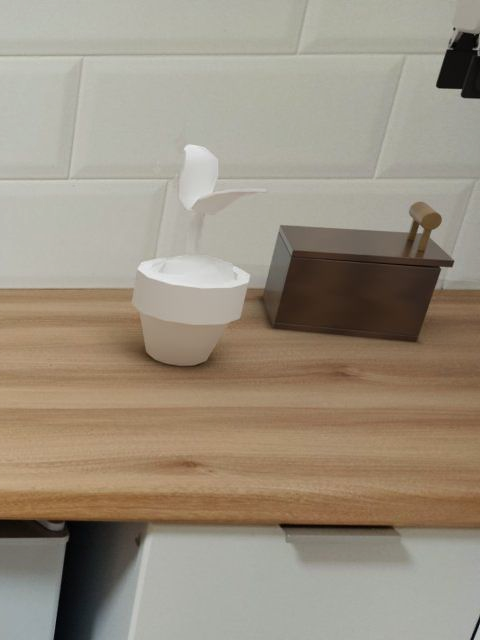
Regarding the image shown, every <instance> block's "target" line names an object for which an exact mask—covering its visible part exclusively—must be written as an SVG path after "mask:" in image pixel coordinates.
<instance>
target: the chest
mask: <svg viewBox="0 0 480 640" xmlns="http://www.w3.org/2000/svg"><path fill="white" fill-rule="evenodd" d="M441 271H442V267H437V266H422V265H407V264H393V263H378V262H363V261H348V260H333V259H318V258H304V257H292V256H291V254H290V252H289V250H288V248H287V246H286V244H285V242H284V240H283V238H282V236H281V234H280V232H279V231H278V233H277V236H276V241H275V245H274V249H273V253H272V257H271V261H270V265H269V269H268V273H267V277H266V281H265V285H264V289H263V294H262V301H263V304H264V307H265V310H266V312H267V315H268V318H269V321H270V324H271V327H272V329H273V330H283V331H294V332H306V333H315V334H326V335H335V336H344V337H345V336H346V337H356V338H365V339H366V338H367V339H376V340H386V341H387V340H388V341H396V342H397V341H399V342H407V343H417V341H418V339H419V336H420V333H421V331H422V327H423V324H424V321H425V319H426V315H427V312H428V310H429V307H430V304H431V301H432V299H433V295H434V292H435V289H436V286H437V283H438V280H439V278H440V276H441V275H440V274H441Z"/></svg>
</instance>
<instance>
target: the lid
mask: <svg viewBox="0 0 480 640" xmlns="http://www.w3.org/2000/svg"><path fill="white" fill-rule="evenodd" d="M408 214H409V216H410V217H411V219H412V220H411V223H410V227H409V231H408V232H407V231H406V232H405V231H388V230H387V231H386V230H373V229H372V230H371V229H355V228H354V229H353V228H340V227H339V228H338V227H323V226H322V227H321V226H307V225H306V226H304V225H288V224H280V225H279V227H278V232H280V234H281V236H282V238H283V240H284V242H285V244H286V246H287V248H288V250H289V252H290V254H291V256H292V257H304V258H318V259H333V260H348V261H363V262H378V263H393V264H407V265H422V266H437V267H440V268H453V267H454V264H455V260H454V258H453V257H451V256H450V255H449V254H448V253H447V252H446V251H445V250H444V249H443V248H442V247H441V246H440V245H438V244H437V242H436V241H434V239H432V238H431V234H432V231H433V230H436V229H437V228H439V227H440V226H441V224H442V221H443V218H442V217H443V216H442V215H441V214H440V213H439V212H437V211H436V210H435V209H434V208H433V207H431V206H430V205H429V204H428V203H427V202H425V201H416V202H414V203H413V204H411V206H410V207H409V209H408ZM419 227H421V228H423V230H422V233H421V232H418V230H419Z"/></svg>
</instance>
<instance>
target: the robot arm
mask: <svg viewBox="0 0 480 640" xmlns="http://www.w3.org/2000/svg"><path fill="white" fill-rule="evenodd" d="M452 25H453V28H452V31H453V32H452V35H451V36H450V38H449V40H448V44H447V48H446V51H445V53H444V55H443V56H444V57H443V60H442V63H441V65H440V70H439V73H438V76H437V79H436V82H435V87H436V88H437V89H441V90H442V89H443V90H461V92H460V97H461V98H462V99H472V100H480V0H458V1H457V4H456V8H455V12H454V16H453V20H452Z"/></svg>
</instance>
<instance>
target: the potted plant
mask: <svg viewBox="0 0 480 640" xmlns="http://www.w3.org/2000/svg"><path fill="white" fill-rule="evenodd" d="M170 143H172V144H174V145H175V147H176V151H177V163H179V161H180V159H181V155H182V153H184V154H183V163H182V168H181V171H180V173H179V176H178V172H176V174H175V176H173V178H172V179H169V181H170V182H171V183H172V184H173V191H175V190H176V189H177V190H176V191H177V192H176V193H177V195H176V196H177V199H178V201H179V202H180V204H181V206H182V207H183V209H184V210H187V211H191V212H192V213H191V215H190V217H189V220H188V221H187V228H186V238H185V254H182V255H176V256H175V255H174V256H172V257H157V258H153V259H149V260H144V261H141V262H140V264H139V265H138V267H137V268H136V275H135V276H136V277H135V279H134V287H133V292H132V298H131V305H132V306H133V307H134V308H135V309H136V310H138V311H139V318H140V323H141V329H142V335H143V341H144V348H145V352H146V353H147V354H148V356H150V357H151V358H152V359H153V360H155V361H157V362H160V363H162V364H164V365H168V366H169V365H170V366H175V367H176V366H177V367H193V366H196V365H199V364H202V363H204V362H207V360H208V359H209V357H210V355H211V354H212V352H213V351H214V349H215V347H216V345H217V344H218V343H219V341H220V339H221V337H222V336H223V334H224V333H225V331H226V329H228V326H229V325H230V323H231V322H234V321H237V320H240V319H241V316H242V312H243V307H244V304H245V299H246V295H247V291H248V287H249V282H250V278H251V274H249V273H248V272H246V271H244V270H243V269H241V268H240V267H238V266H235V265H234V264H233V263H231V262H229V261H226V260H223V259H220V258H218V257H215V256H212V255H210V254H207V253H204V254H203V253H202V254H201V253H200V247H201V240H202V235H203V229H204V228H203V227H204V222H205V217H206V215H207V216H214V215H216V214H218V213H219V212H221V211H223V210H224V209H226V208H228V207H229V206H230V205H232V204H234V203H235V202H237V201H238V200H239V199H241V198H243V197H246V196H251V195H254V194H258V193H259V194H268V191H269V190H268V189H263V188H230V189H225V190H219V191H214V189H215V186H216V184H217V182H218V179H219V176H220V172H219V170H220V169H219V159H218V158H217V157H216V156H215V155H214V154H213V153H212V152H211V151H210V150H208V148H206V147H205V146H202V145H201V146H200V145H195V144H192V143H190V142H188V140H187V138H186V135H185V123H183V125H182V128H181V131H180V132H179V135H178V136H177V138H175V139H174V140H170ZM159 162H160V161H159V160H157V163H156V165H155V166H154V167H152V168H151V170H152V171H153V172H154V174H155V179H157V178H158V176H159V173H161V172H163V168H161V167H160V163H159ZM176 187H177V188H176ZM213 191H214V192H213Z"/></svg>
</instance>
